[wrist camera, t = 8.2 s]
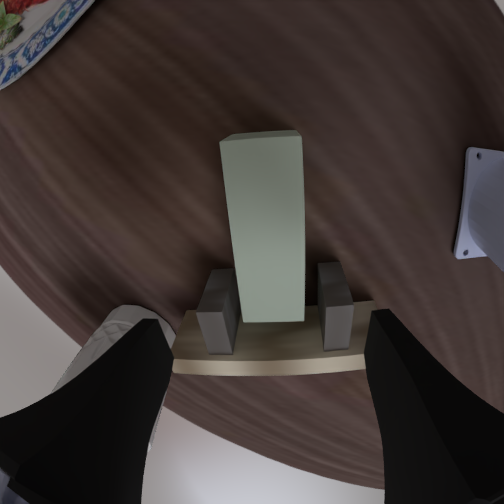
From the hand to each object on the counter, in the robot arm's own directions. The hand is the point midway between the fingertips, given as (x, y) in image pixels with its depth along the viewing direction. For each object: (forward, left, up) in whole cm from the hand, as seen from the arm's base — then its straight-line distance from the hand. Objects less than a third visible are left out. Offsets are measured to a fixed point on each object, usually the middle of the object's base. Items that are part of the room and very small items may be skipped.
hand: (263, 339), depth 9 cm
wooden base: (0, +5, -9) cm, 11 cm away
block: (0, -1, -10) cm, 10 cm away
